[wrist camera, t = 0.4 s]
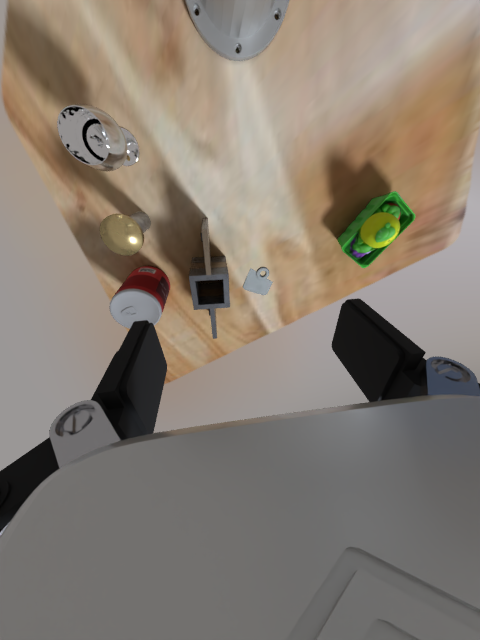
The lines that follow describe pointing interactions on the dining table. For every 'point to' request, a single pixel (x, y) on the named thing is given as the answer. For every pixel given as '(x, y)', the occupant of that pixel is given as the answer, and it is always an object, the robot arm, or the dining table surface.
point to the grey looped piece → (258, 281)
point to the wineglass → (96, 138)
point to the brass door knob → (124, 232)
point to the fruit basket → (376, 228)
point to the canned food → (141, 297)
